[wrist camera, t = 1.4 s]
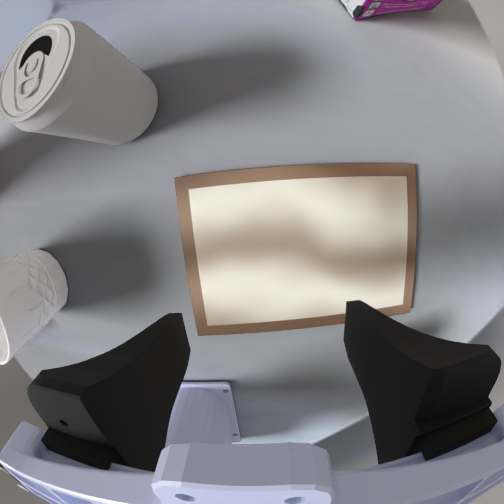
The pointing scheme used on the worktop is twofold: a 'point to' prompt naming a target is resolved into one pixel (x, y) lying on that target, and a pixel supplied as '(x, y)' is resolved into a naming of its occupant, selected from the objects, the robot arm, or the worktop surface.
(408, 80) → the worktop surface
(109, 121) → the beverage can
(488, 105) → the worktop surface
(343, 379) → the worktop surface
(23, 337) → the white cup
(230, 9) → the worktop surface
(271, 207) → the writing board
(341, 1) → the candy bar box
